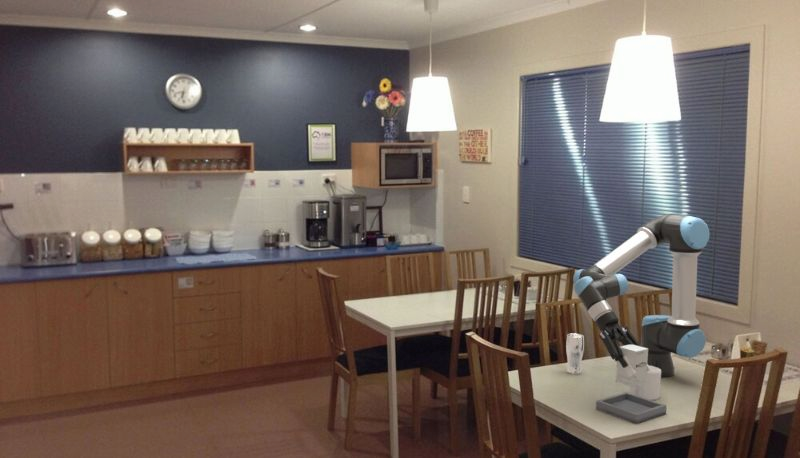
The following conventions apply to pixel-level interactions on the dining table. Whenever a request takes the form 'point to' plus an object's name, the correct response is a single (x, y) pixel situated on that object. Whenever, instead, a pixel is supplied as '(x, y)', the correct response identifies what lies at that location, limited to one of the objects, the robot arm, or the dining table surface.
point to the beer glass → (574, 352)
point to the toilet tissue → (649, 385)
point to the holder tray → (631, 407)
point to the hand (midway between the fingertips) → (640, 373)
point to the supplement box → (638, 362)
